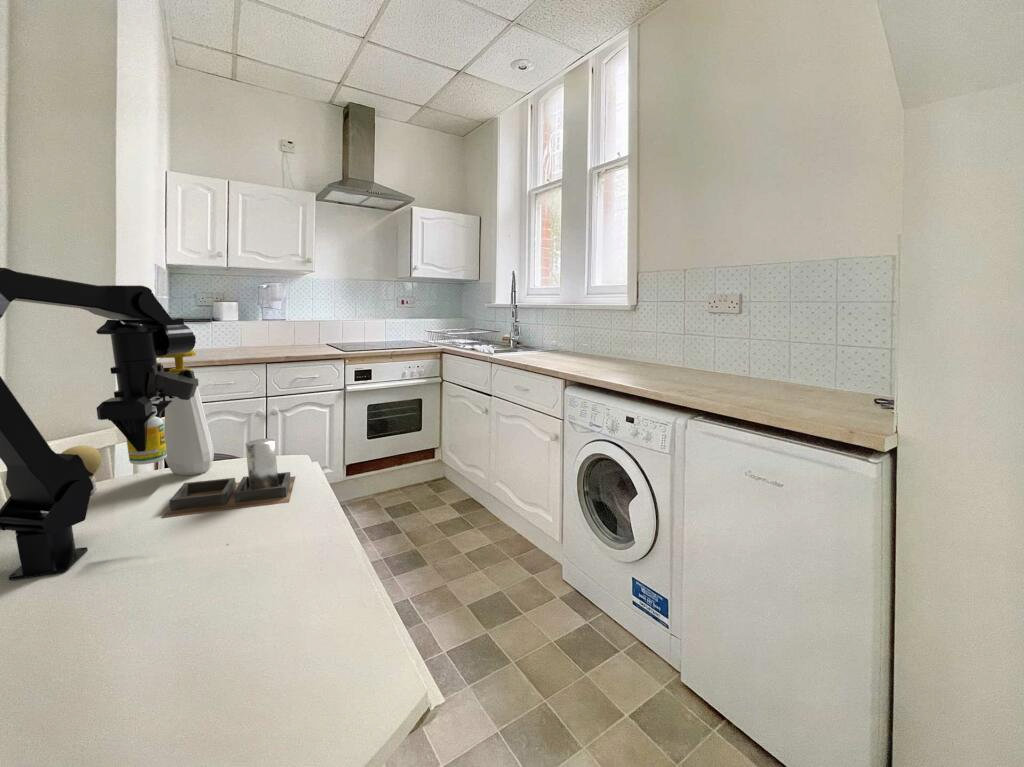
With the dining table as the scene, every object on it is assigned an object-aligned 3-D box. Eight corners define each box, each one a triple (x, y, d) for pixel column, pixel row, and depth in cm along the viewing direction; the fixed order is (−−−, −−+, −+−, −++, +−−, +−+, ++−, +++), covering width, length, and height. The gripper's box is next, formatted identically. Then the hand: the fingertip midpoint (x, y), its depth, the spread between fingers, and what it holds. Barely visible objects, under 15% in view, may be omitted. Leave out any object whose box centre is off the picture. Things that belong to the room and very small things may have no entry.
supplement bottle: (129, 459, 84) (121, 407, 82) (165, 453, 88) (159, 403, 86) (130, 467, 80) (122, 412, 78) (168, 460, 84) (162, 408, 82)
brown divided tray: (289, 509, 87) (288, 491, 87) (161, 526, 80) (159, 507, 80) (296, 482, 100) (294, 467, 100) (186, 495, 93) (184, 478, 93)
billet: (277, 494, 90) (273, 444, 89) (247, 498, 89) (243, 447, 87) (280, 485, 95) (276, 437, 93) (252, 488, 93) (248, 440, 92)
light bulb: (85, 501, 90) (78, 451, 89) (53, 500, 90) (45, 451, 89) (114, 488, 97) (107, 441, 95) (84, 488, 97) (76, 441, 95)
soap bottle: (147, 477, 103) (129, 345, 98) (199, 464, 111) (185, 342, 106) (172, 490, 96) (155, 348, 91) (225, 475, 104) (212, 345, 99)
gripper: (175, 364, 75) (186, 457, 78) (203, 352, 92) (211, 429, 95) (88, 367, 71) (103, 465, 74) (134, 354, 88) (144, 434, 91)
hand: (147, 446), depth 83 cm, fingers closed on supplement bottle, 5 cm apart
